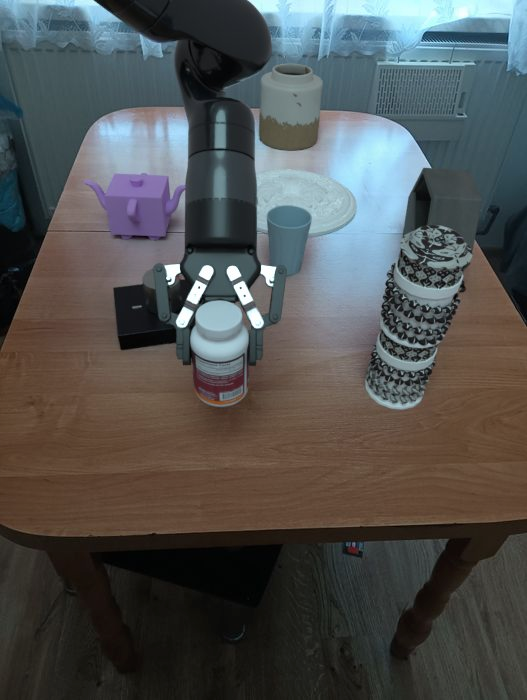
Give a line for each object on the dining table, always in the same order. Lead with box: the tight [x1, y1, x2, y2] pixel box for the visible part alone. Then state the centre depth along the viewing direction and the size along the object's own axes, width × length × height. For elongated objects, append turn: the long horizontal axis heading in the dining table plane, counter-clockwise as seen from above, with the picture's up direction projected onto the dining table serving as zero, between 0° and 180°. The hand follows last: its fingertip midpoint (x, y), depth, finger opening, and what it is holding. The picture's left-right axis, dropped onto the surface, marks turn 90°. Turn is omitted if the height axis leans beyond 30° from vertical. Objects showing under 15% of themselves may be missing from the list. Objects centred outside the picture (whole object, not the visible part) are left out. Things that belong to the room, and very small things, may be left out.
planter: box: [401, 167, 483, 271], centre depth 94 cm, size 17×8×21 cm
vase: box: [258, 63, 324, 151], centre depth 135 cm, size 15×15×17 cm
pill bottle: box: [190, 300, 250, 408], centre depth 57 cm, size 6×6×11 cm
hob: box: [112, 278, 206, 351], centre depth 86 cm, size 15×12×3 cm
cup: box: [267, 205, 312, 277], centre depth 95 cm, size 8×8×10 cm
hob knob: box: [141, 268, 182, 315], centre depth 83 cm, size 6×6×5 cm
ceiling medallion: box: [256, 168, 358, 238], centre depth 115 cm, size 28×28×3 cm
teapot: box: [82, 172, 185, 241], centre depth 102 cm, size 15×13×11 cm
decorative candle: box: [364, 225, 474, 411], centre depth 69 cm, size 9×9×25 cm
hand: (220, 365), depth 56 cm, fingers closed on pill bottle, 6 cm apart
